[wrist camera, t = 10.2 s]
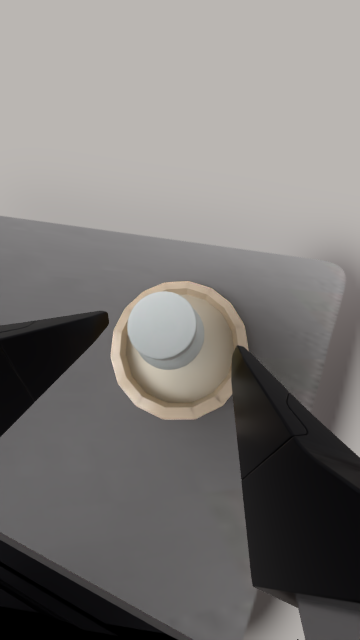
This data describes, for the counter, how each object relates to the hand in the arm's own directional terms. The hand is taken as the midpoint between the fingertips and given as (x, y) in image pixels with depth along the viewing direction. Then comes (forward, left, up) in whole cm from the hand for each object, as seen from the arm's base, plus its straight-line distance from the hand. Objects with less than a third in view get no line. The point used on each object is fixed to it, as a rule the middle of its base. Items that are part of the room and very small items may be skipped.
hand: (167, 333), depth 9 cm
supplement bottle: (0, 0, -8) cm, 8 cm away
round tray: (0, 0, -9) cm, 9 cm away
